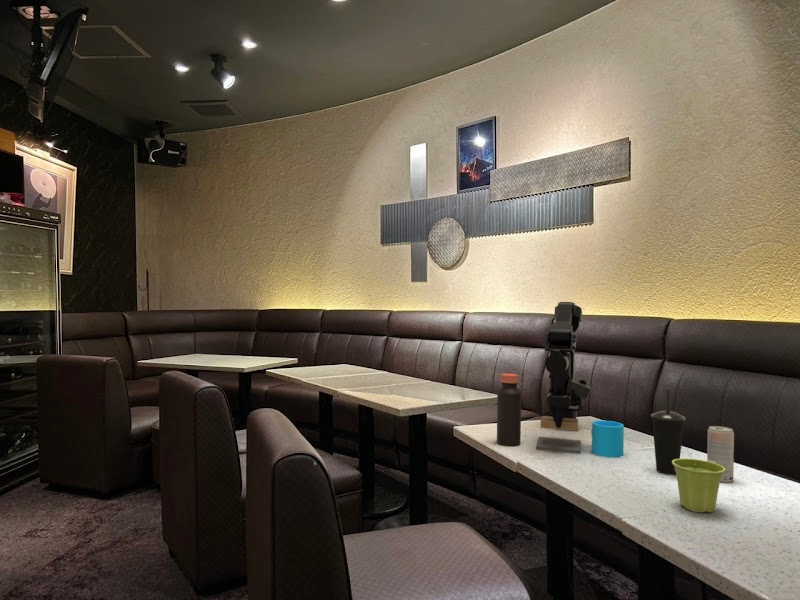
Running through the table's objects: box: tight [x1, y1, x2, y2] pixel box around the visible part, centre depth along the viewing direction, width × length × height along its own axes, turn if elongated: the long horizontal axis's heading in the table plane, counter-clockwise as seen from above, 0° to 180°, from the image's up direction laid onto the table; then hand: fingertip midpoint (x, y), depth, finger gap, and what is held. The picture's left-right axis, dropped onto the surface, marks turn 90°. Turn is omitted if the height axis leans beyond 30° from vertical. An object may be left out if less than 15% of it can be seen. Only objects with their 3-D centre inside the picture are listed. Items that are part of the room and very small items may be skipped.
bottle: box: [496, 373, 522, 447], centre depth 157 cm, size 7×7×20 cm
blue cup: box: [590, 420, 625, 458], centre depth 150 cm, size 12×8×8 cm
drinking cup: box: [650, 389, 686, 476], centre depth 133 cm, size 8×8×20 cm
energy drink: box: [706, 425, 735, 484], centre depth 127 cm, size 5×5×12 cm
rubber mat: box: [535, 436, 582, 455], centre depth 155 cm, size 12×12×1 cm
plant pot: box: [672, 458, 725, 513], centre depth 109 cm, size 9×9×9 cm
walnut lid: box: [540, 416, 579, 432], centre depth 155 cm, size 6×10×2 cm, turn 71°
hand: (559, 425), depth 155 cm, fingers closed on walnut lid, 6 cm apart
